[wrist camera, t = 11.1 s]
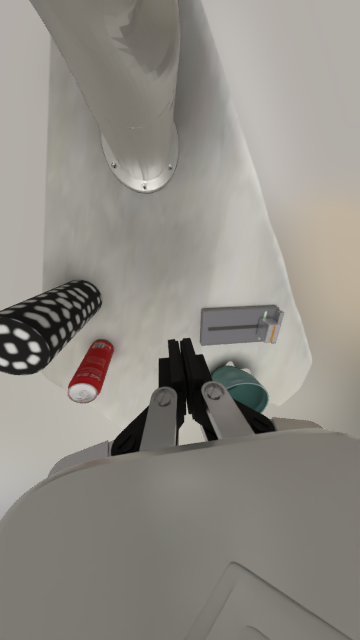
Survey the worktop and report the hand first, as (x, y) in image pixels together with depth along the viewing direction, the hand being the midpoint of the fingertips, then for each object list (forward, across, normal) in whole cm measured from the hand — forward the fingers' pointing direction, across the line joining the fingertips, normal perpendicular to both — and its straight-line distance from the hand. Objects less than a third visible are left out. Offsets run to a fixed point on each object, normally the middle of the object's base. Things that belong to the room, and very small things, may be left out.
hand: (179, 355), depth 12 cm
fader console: (+28, -18, +14) cm, 36 cm away
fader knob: (+26, -25, +14) cm, 38 cm away
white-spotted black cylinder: (+28, +19, +4) cm, 35 cm away
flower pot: (+28, -17, +33) cm, 46 cm away
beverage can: (+28, +18, +18) cm, 38 cm away
